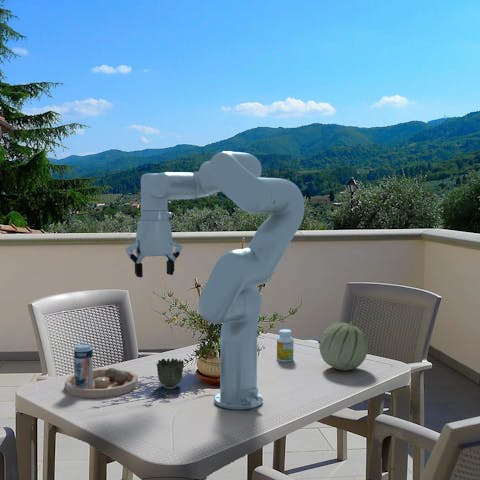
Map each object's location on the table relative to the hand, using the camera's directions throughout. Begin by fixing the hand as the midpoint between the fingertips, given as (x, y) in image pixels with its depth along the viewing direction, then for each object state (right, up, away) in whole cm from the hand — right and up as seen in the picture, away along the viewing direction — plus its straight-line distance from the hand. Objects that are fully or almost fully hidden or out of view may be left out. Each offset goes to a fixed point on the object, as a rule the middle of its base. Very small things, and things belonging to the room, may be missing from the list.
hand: (154, 275), depth 176 cm
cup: (+5, -31, -8) cm, 33 cm away
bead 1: (-12, -30, -3) cm, 32 cm away
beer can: (-18, -30, -11) cm, 37 cm away
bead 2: (-9, -30, -6) cm, 32 cm away
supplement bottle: (+39, -29, +22) cm, 54 cm away
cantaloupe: (+57, -30, +12) cm, 65 cm away
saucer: (-13, -31, -8) cm, 35 cm away
